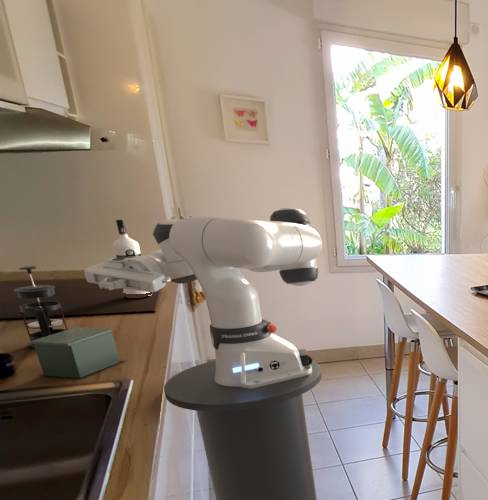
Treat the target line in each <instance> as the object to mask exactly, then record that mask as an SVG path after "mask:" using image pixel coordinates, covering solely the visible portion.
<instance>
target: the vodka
mask: <svg viewBox="0 0 488 500" xmlns="http://www.w3.org/2000/svg"><path fill="white" fill-rule="evenodd" d="M115 224H116V227H117V228H116V229H117V232H118V235H119V238H117V239H116V240H115V241H113V243H112V249H113V251H114V255H115V258H132V257H135V258H136V257H139V256H142V254H141V248H140V244H139V242H138V241H137V240H134V239H133V238H131V237H129V235H128V232H127V227H126V223H125V220H124V219H115ZM123 293H126V294H146V293H150V292H146V291H139V290H133V289H127V288H122V294H123ZM152 295H153V293H152V294H151V295H148V296H150V297H151V296H152Z"/></svg>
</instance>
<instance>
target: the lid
mask: <svg viewBox="0 0 488 500" xmlns="http://www.w3.org/2000/svg"><path fill="white" fill-rule="evenodd" d="M110 332H112V333H113V330H112V329H111V328H110V329H109V328H97V327H83V326H82V327H81V326H75V327H72V328H69V329H68V330H65V331H62V332H59V333H56V334H52V335H49V336H46V337H43V338H39V339H36V340H33V341H30V340H29V342H30V345H31V344H41V345H55V346H71V345H74V344H77V343H80V342H83V341H86V340H89V339H92V338H95V337H98V336H101V335H104V334H107V333H110Z"/></svg>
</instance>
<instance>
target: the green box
mask: <svg viewBox="0 0 488 500" xmlns="http://www.w3.org/2000/svg"><path fill="white" fill-rule="evenodd" d="M34 347H35V348H34V350H35V352H36V356H37V358H38V361H39V365H40V368H41V371H42V375H43V376H46V377H47V376H49V377H60V378H61V377H62V378H75V379H82V378H84V377H87V376H89V375H92V374H95V373H96V372H99V371H101V370H105V369H107V368H109V367H112V366H114V365H117V364H119V363H121V360H120V355H119V352H118V348H117V345H116V341H115V338H114V334H113V331H112V332H110V333H107V334H104V335H101V336H98V337H95V338H92V339H89V340H86V341H83V342H80V343H77V344H74V345H71V346H55V345H41V344H34Z"/></svg>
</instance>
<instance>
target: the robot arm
mask: <svg viewBox="0 0 488 500" xmlns="http://www.w3.org/2000/svg"><path fill="white" fill-rule="evenodd" d="M310 224H311V222H310V219H309V217H308V215H307V213H305V212H304V211H303V210H302V209H298V208H296V207H295V208H294V207H282V208H280V209H277V210H275V211H272V213H271V214H270V217H269V220H263V219H262V220H261V219H243V218H231V217H229V218H228V217H216V216H202V215H196V216H190V217H185V218H181V219H165V220H162V221H160V222H157V223H156V225H155V227H154V229H153V232H152V236H153V237H154V240H155V242H156V243H157V245H158V246H159V248H160V249H158V250H157V249H156V250H154V251H150V252H147V254H144V255H143V254H141V256H139V257H136V258H135V257H132V258H116V257H111V258H109V259H107V261H106V262H105V261H104V262H100V263H97V264H95V265H91V266H89V267H87V268H85V269H84V271H83V273H84V277H85V280H86V282H87V283H89V284H96V285H98V288H99V290H100V289H101V290H105V291H106V290H107V291H113V290H116V289H123V288H127V289H133V290H139V291H146V292H152V293H155V292H158V291H159V290H161V289H163V288H165V286H166V285H167V283H170V282H172V283H174V284H181V285H182V284H183V285H184V284H188V283H193V282H194V281H197V282H198V283H199V285H200V288H201V289H202V292H203V295H204V297H205V302H206V307H207V311H208V315H209V320H210V325H209V334H210V341H211V344H212V346H213V348H214V353H215V360H216V372H215V379H214V381H215V382H216V383H217V384H219V385H223V386H232V387H243V388H248V389H252V388H257V387H261V386H265V385H269V384H273V383H278V382H282V381H286V380H290V379H294V378H299V377H303V376H307V375H309V374H310V373H311V372H312V367H311V363H312V361H314V360H313V357H311V356H310V355H308V352H307V349H306V348H301V349H298V348H297V347H296V345H294V344H293V343H292V342H291V341H288V340H286V339H285V338H283V337H280V336H278V335H277V334H275V333H276V331H277V329H278V328H277V326H276V325H275V324H274V323H272V322H271V321H269V320H267V319H264V318H262V317H263V316H262V312H261V304H260V298H259V293H258V290H257V289H256V287H255V286H254V285H253V284H252V283H251V282H249V281H248V280H247V278H245V276H244V274H243V273H242V271H241V270H242V269H243V270H246V269H247V270H248V271H251V272H253V273H254V272H255V273H269V272H276V271H278V273H279V275H280V277H281V280H282V281H283V282H284V283H286V284H287V285H290V286H291V285H292V286H296V287H303V286H304V287H305V286H307V285H310V284H311V283H313V282H315V281H316V280H317V279H318V278H319V277H318V276H319V267H318V265H317V258H318V257H319V256H320V255H321V253H322V250H323V240H322V237H321V235H320V233H318V232H317V230H316V229H314V228H312V227H311V226H310ZM240 269H241V270H240ZM308 360H309V361H308Z"/></svg>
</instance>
